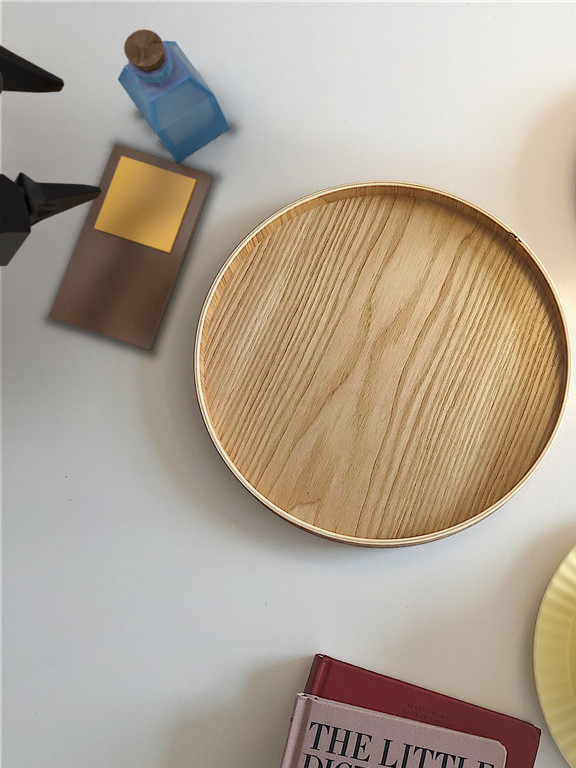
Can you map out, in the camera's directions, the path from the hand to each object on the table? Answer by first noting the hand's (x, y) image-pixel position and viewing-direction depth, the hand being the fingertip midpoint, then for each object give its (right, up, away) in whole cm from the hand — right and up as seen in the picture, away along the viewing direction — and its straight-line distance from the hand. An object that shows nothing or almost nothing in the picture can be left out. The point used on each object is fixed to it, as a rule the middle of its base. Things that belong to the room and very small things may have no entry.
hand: (80, 138), depth 54 cm
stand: (-1, -6, +13) cm, 14 cm away
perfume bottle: (+4, +7, +14) cm, 17 cm away
